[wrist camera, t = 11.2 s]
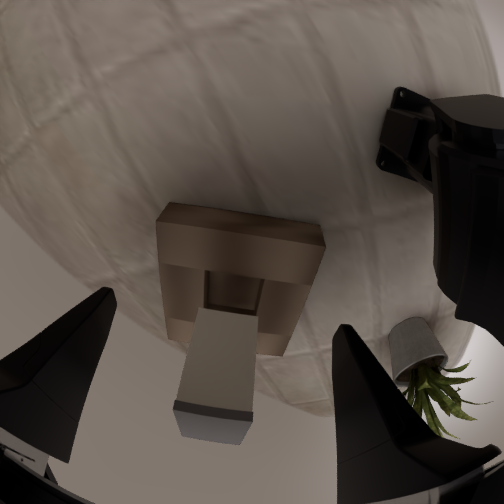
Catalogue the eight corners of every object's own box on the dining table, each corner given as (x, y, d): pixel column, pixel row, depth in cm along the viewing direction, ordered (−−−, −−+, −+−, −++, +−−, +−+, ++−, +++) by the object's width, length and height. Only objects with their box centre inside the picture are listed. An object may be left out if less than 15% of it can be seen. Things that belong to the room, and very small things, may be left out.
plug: (259, 316, 18) (252, 421, 12) (247, 361, 21) (239, 445, 15) (198, 307, 18) (172, 409, 12) (198, 354, 21) (182, 436, 15)
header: (319, 225, 21) (326, 246, 19) (282, 334, 29) (282, 356, 27) (169, 202, 21) (155, 221, 18) (174, 317, 29) (168, 339, 26)
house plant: (352, 375, 35) (364, 478, 21) (335, 321, 28) (355, 471, 14) (440, 345, 31) (470, 441, 17) (452, 280, 24) (511, 408, 10)
